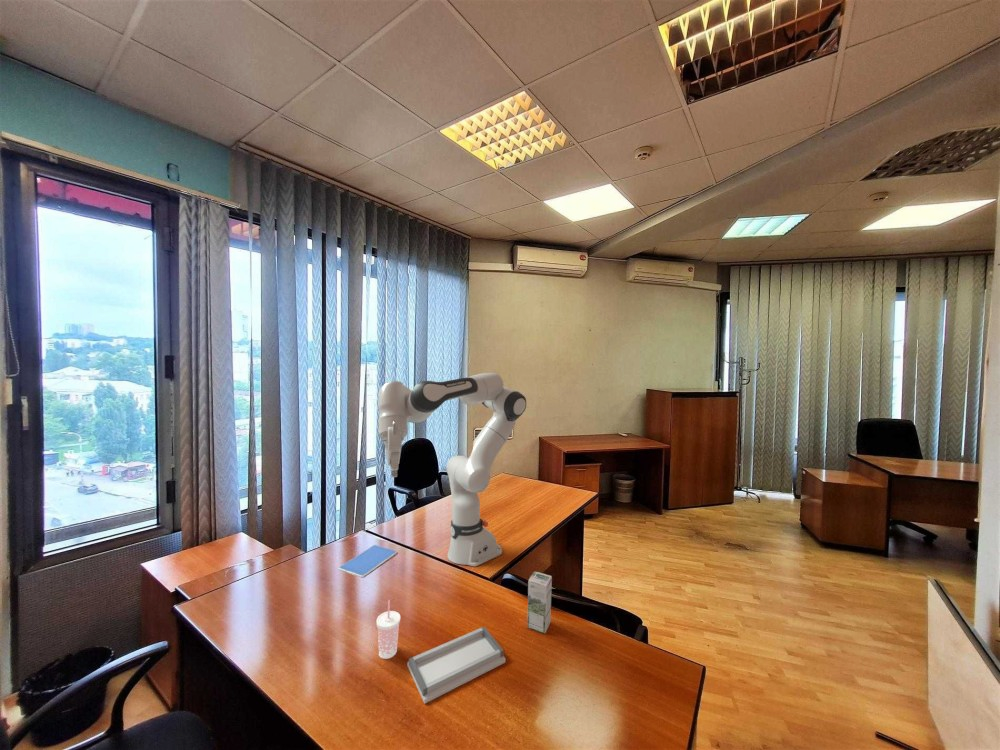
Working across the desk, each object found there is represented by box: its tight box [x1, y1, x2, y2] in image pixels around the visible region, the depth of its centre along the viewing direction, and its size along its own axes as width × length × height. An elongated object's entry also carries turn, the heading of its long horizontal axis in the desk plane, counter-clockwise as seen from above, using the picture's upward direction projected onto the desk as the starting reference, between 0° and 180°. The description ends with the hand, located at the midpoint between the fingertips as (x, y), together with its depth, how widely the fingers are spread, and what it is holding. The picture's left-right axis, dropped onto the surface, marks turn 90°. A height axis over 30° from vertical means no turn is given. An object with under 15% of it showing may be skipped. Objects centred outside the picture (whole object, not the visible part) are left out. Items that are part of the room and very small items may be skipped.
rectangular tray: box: [406, 626, 506, 704], centre depth 92 cm, size 22×12×2 cm, turn 123°
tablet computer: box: [337, 544, 398, 578], centre depth 139 cm, size 19×13×1 cm, turn 156°
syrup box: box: [526, 571, 553, 634], centre depth 106 cm, size 6×6×14 cm
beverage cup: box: [376, 599, 401, 660], centre depth 95 cm, size 6×6×14 cm
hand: (394, 473), depth 108 cm, fingers open, 8 cm apart
